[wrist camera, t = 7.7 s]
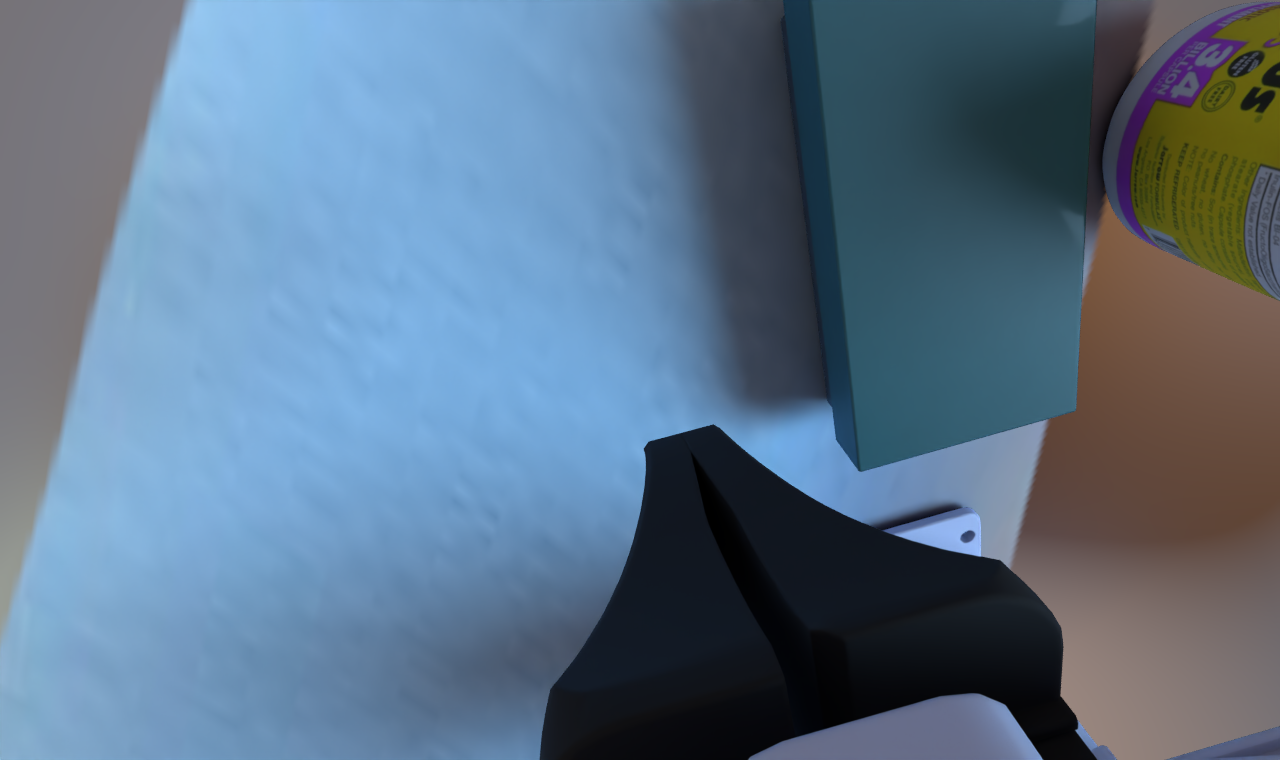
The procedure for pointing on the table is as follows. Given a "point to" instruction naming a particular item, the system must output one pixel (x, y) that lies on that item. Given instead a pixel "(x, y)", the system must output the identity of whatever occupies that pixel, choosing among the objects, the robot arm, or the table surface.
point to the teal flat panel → (943, 211)
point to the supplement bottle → (1205, 147)
